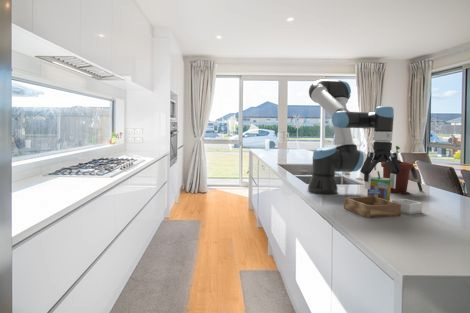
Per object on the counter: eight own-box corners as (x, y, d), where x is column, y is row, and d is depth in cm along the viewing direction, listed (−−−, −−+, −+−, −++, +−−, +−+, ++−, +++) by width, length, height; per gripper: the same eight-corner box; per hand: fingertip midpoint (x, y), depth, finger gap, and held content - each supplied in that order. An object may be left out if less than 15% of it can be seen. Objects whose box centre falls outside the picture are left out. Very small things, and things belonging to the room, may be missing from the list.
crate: (343, 208, 135) (344, 197, 134) (373, 206, 139) (374, 196, 139) (368, 217, 120) (368, 206, 120) (400, 215, 125) (401, 204, 124)
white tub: (391, 209, 134) (392, 200, 134) (403, 207, 138) (404, 198, 137) (409, 214, 127) (409, 204, 127) (421, 212, 130) (422, 202, 130)
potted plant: (380, 186, 188) (382, 144, 186) (422, 191, 178) (426, 146, 176) (378, 191, 172) (381, 145, 170) (424, 196, 162) (428, 148, 160)
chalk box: (388, 207, 139) (391, 173, 137) (366, 204, 143) (368, 171, 142) (390, 202, 147) (392, 171, 145) (368, 200, 151) (370, 169, 150)
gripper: (364, 141, 135) (362, 190, 137) (411, 142, 142) (408, 189, 144) (353, 140, 142) (351, 187, 144) (398, 141, 150) (396, 186, 151)
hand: (380, 188), depth 144 cm, fingers open, 13 cm apart
